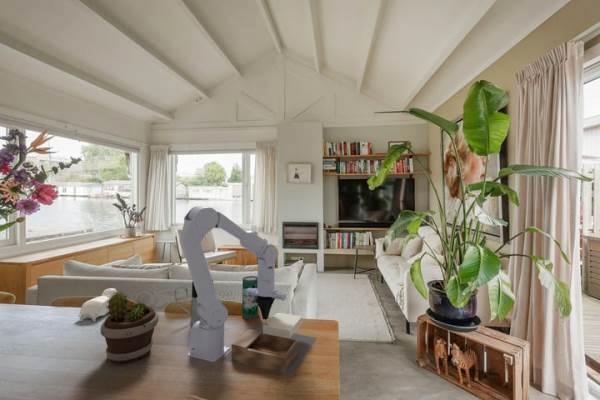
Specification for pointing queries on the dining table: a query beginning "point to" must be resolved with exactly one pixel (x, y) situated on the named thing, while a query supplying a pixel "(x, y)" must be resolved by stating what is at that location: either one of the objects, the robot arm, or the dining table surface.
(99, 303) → the white figurine
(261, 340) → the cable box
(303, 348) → the desk mat
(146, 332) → the flowerpot
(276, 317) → the lid
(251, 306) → the can
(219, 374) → the dining table surface
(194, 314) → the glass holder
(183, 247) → the robot arm
